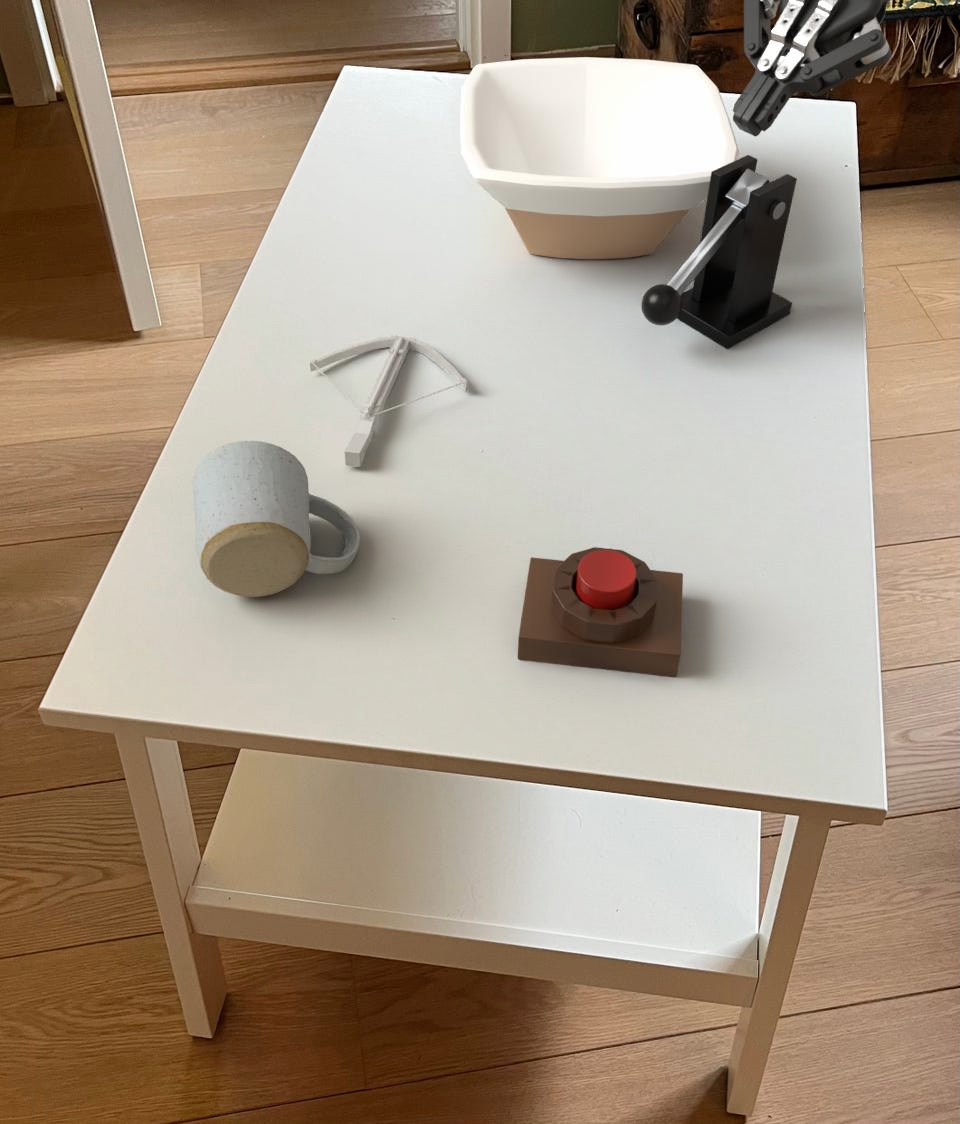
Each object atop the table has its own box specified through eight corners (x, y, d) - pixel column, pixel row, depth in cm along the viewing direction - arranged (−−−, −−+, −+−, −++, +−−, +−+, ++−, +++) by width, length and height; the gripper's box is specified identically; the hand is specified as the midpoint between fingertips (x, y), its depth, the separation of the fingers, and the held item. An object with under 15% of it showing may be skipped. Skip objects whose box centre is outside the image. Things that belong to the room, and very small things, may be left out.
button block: (678, 595, 79) (686, 553, 76) (676, 677, 74) (684, 635, 71) (529, 579, 80) (531, 537, 77) (517, 659, 75) (519, 617, 72)
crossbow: (331, 343, 99) (329, 322, 98) (478, 362, 98) (479, 340, 96) (270, 456, 88) (267, 433, 86) (436, 479, 86) (436, 457, 85)
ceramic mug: (205, 612, 77) (188, 528, 72) (201, 526, 83) (185, 442, 77) (367, 592, 79) (362, 508, 73) (353, 509, 84) (347, 425, 79)
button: (634, 571, 75) (637, 552, 74) (632, 613, 73) (635, 594, 72) (578, 565, 76) (580, 546, 74) (573, 607, 73) (575, 588, 72)
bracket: (727, 349, 98) (754, 209, 89) (666, 312, 102) (686, 173, 92) (790, 314, 102) (822, 175, 92) (728, 279, 105) (753, 143, 96)
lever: (669, 339, 95) (657, 320, 92) (640, 321, 96) (628, 302, 94) (781, 201, 94) (772, 177, 91) (750, 185, 96) (741, 162, 93)
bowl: (460, 296, 103) (459, 184, 95) (461, 160, 120) (460, 55, 112) (732, 297, 103) (753, 185, 96) (694, 160, 120) (709, 56, 113)
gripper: (798, -144, 84) (658, 72, 88) (956, -96, 77) (798, 137, 81) (829, -79, 91) (697, 120, 94) (978, -29, 84) (830, 185, 87)
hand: (744, 128), depth 87 cm, fingers closed
